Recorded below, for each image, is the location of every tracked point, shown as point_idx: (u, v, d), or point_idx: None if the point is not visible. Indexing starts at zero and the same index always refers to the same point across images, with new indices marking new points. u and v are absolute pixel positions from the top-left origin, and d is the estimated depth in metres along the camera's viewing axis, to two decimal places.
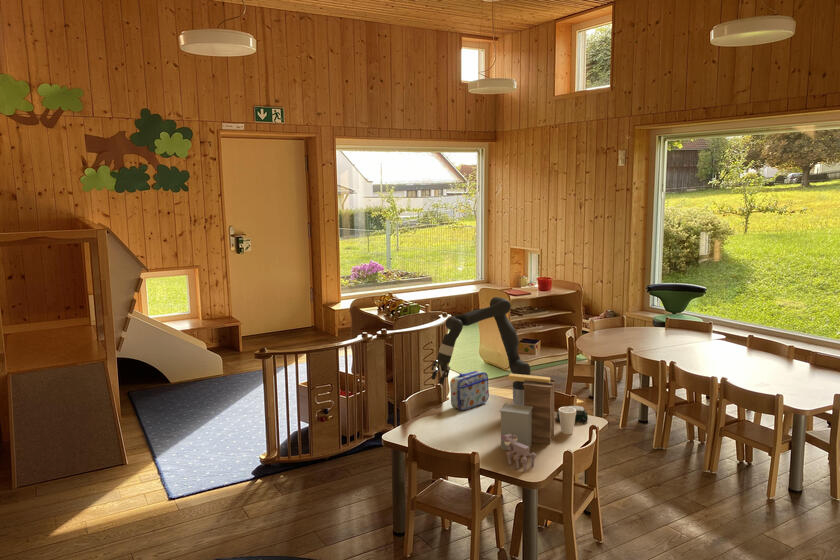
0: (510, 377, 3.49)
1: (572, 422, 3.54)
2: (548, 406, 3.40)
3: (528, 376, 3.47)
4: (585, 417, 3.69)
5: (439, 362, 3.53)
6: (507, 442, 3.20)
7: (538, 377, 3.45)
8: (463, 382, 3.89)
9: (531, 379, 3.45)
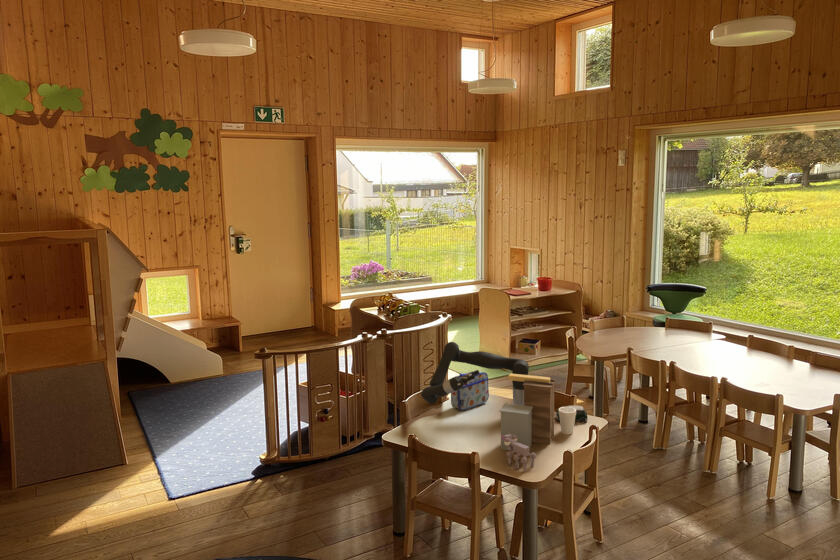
0: (510, 377, 3.49)
1: (572, 422, 3.54)
2: (548, 406, 3.40)
3: (528, 376, 3.47)
4: (584, 416, 3.70)
5: None
6: (507, 442, 3.20)
7: (538, 377, 3.45)
8: None
9: (531, 379, 3.45)
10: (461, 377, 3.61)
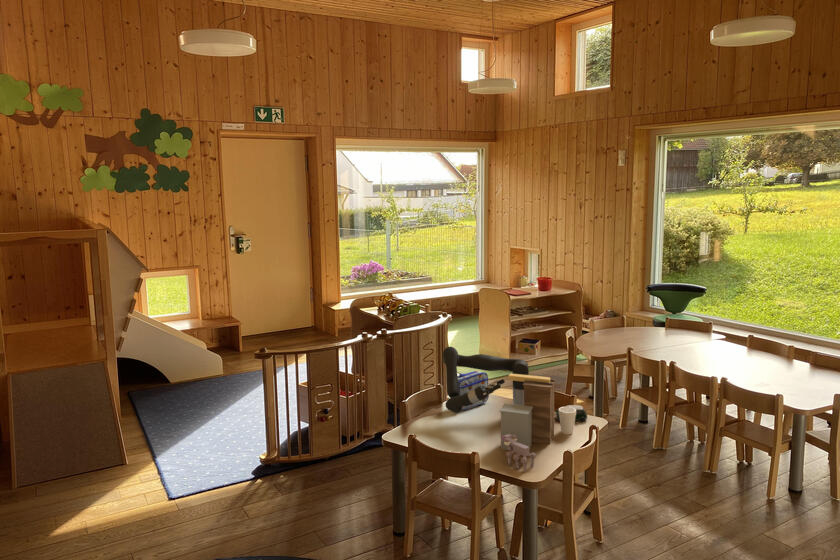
0: (510, 377, 3.49)
1: (572, 422, 3.54)
2: (548, 406, 3.40)
3: (528, 376, 3.47)
4: (584, 416, 3.70)
5: None
6: (507, 442, 3.20)
7: (538, 377, 3.45)
8: (463, 382, 3.89)
9: (531, 379, 3.45)
10: None
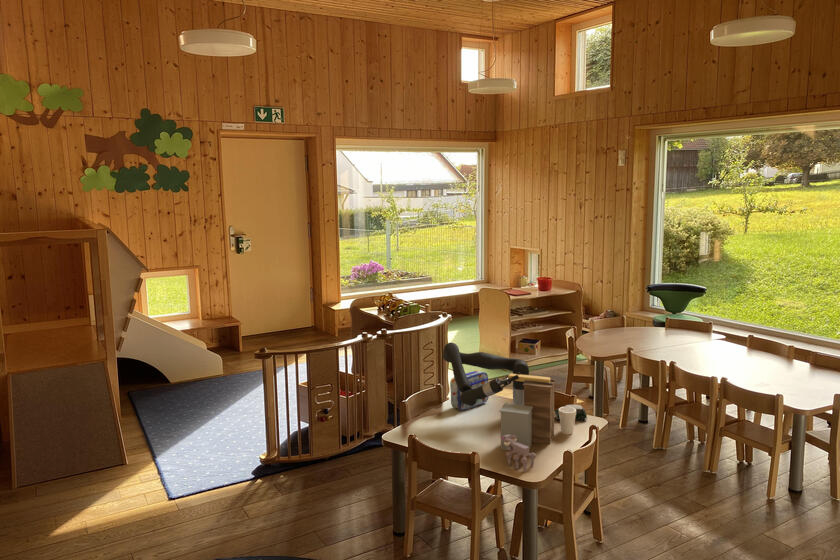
0: (510, 377, 3.49)
1: (572, 422, 3.54)
2: (548, 406, 3.40)
3: (528, 376, 3.47)
4: (584, 415, 3.71)
5: None
6: (507, 442, 3.20)
7: (538, 377, 3.45)
8: None
9: (531, 379, 3.45)
10: (502, 379, 3.52)
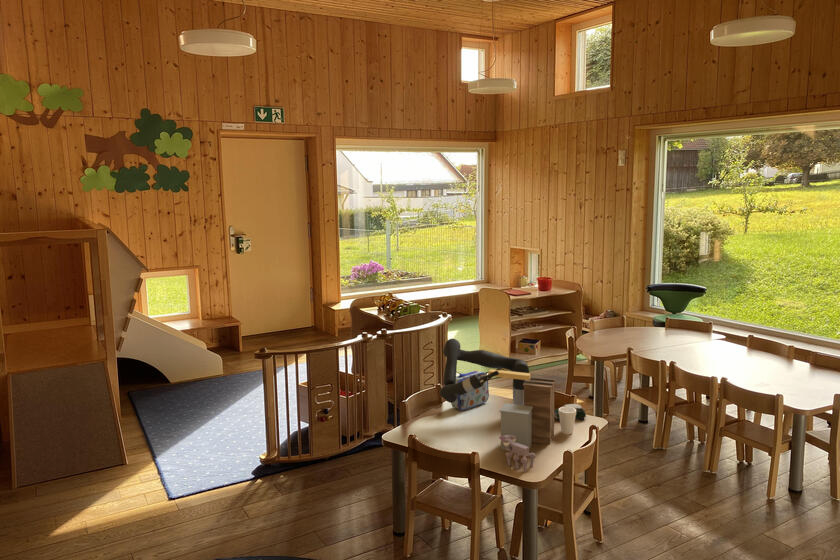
0: None
1: (572, 422, 3.54)
2: (548, 406, 3.40)
3: (508, 372, 3.42)
4: (583, 414, 3.73)
5: None
6: (506, 443, 3.19)
7: (518, 373, 3.40)
8: None
9: (511, 375, 3.40)
10: (482, 375, 3.48)
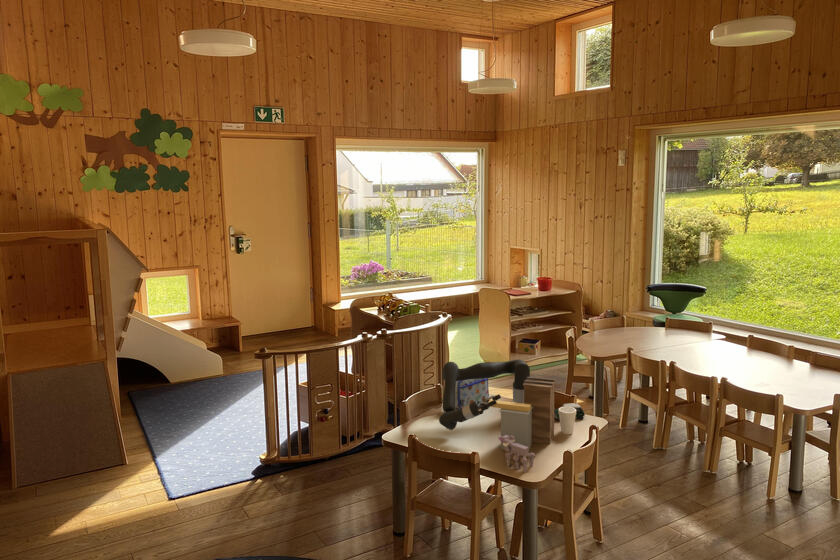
0: None
1: (572, 422, 3.54)
2: (548, 406, 3.40)
3: (508, 403, 3.38)
4: (582, 413, 3.75)
5: None
6: (506, 443, 3.19)
7: (518, 404, 3.35)
8: (463, 382, 3.89)
9: (511, 406, 3.35)
10: (482, 402, 3.42)
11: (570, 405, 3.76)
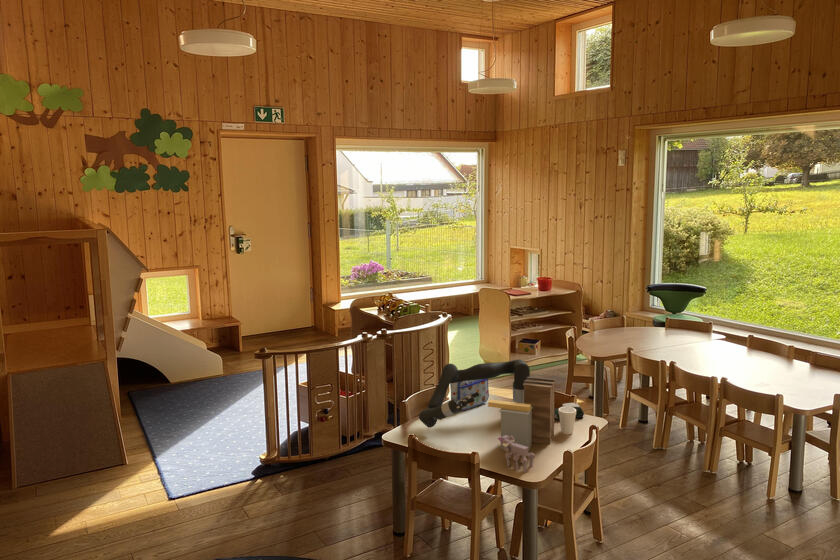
0: (490, 404, 3.40)
1: (572, 422, 3.54)
2: (548, 406, 3.40)
3: (508, 403, 3.38)
4: (582, 412, 3.75)
5: None
6: (505, 444, 3.18)
7: (518, 404, 3.35)
8: (463, 382, 3.89)
9: (511, 406, 3.35)
10: None
11: (569, 405, 3.77)
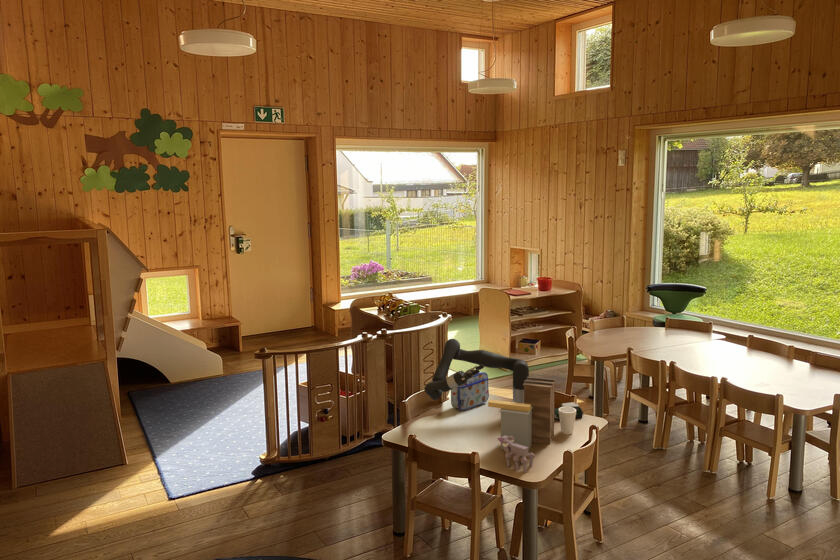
0: (490, 404, 3.40)
1: (572, 422, 3.54)
2: (548, 406, 3.40)
3: (508, 403, 3.38)
4: (581, 412, 3.76)
5: None
6: (505, 444, 3.18)
7: (518, 404, 3.35)
8: None
9: (511, 406, 3.35)
10: (465, 372, 3.51)
11: (569, 404, 3.77)
